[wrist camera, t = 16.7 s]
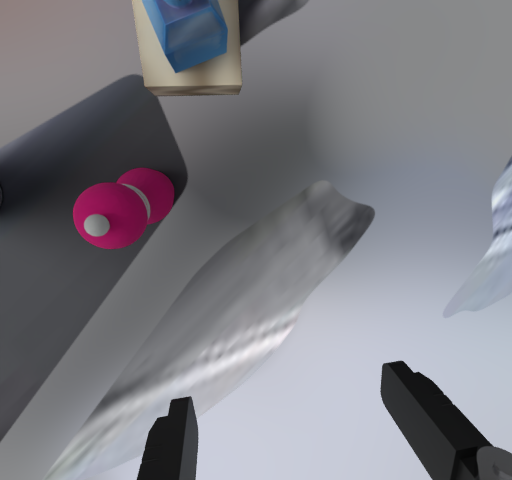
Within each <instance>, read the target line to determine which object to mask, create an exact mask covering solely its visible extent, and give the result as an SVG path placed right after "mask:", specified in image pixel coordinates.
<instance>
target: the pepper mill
mask: <svg viewBox="0 0 512 480" xmlns="http://www.w3.org/2000/svg"><path fill="white" fill-rule="evenodd" d="M173 201H174V187H173V184H172V183H171V181H170V179H169V178H168V177H167V176H166V175H164V174H163V173H161V172H159V171H156V170H152V169H149V168H135V169H132V170H130V171H128V172H126V173H124V174H123V175H122V176H121V177H120V178H119V179H118V180H117V182H116V183H113V182H108V183H99V184H96V185H94V186H91V187H89V188H88V189H86V190H85V191H84V192H83V193H82V194H81V195H80V196H79V197H78V199H77V200H76V202H75V205H74V209H73V219H74V223H75V226H76V228H77V230H78V232H79V233H80V235H81V236H82V237H83V238H84V239H85V240H86V241H88V242H90V243H91V244H93V245H95V246H97V247H101V248H105V249H117V248H123V247H126V246H128V245H131V244H132V243H134V242H135V241H136V240H138V239H139V238H140V236H141V235H142V234H143V232H144V231H145V228H146V226H147V224H152V223H155V222H158V221H160V220H161V219H163V218H164V217H165V216H166V215H167V214H168V213H169V212H170V210H171V208H172V206H173Z"/></svg>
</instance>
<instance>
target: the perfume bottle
mask: <svg viewBox="0 0 512 480" xmlns="http://www.w3.org/2000/svg"><path fill="white" fill-rule="evenodd" d="M142 2H143V5H144V7H145V9H146V12H147V14H148V17H149V19H150V21H151V24H152V26H153V28H154V31H155V33H156V35H157V38H158V40H159V42H160V45H161V47H162V49H163V52H164V54H165V56H166V58H167V59H168V61H169V63H170V65H171V66H172V68H173V70H174V71H175V73H178V72H180V71H183V70H185V69H188V68H190V67H192V66H195V65H197V64H200V63H202V62H205V61H207V60H209V59H212V58H214V57H217V56H219V55H222V54H224V53H226V52H227V36H228V28H227V25H226V22H225V20H224V17H223V14H222V11H221V8H220V5H219V2H218V0H142Z"/></svg>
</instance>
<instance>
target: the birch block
mask: <svg viewBox="0 0 512 480" xmlns="http://www.w3.org/2000/svg"><path fill="white" fill-rule="evenodd" d="M218 2H219V5H220V8H221V11H222V14H223V17H224V20H225V22H226V25H227V28H228V36H227V52H226V53H224V54H222V55H219V56H217V57H214V58H212V59H209V60H207V61H205V62H202V63H200V64H197V65H195V66H192V67H190V68H188V69H185V70H183V71H180V72H178V73H175V71H174V70H173V68H172V66H171V65H170V63H169V61H168V59H167V58H166V56H165V54H164V52H163V49H162V47H161V45H160V42H159V40H158V38H157V35H156V33H155V31H154V28H153V26H152V24H151V21H150V19H149V17H148V14H147V12H146V9H145V7H144V5H143V2H142V0H132V4H133V11H134V18H135V24H136V30H137V38H138V44H139V51H140V58H141V64H142V71H143V78H144V84H145V87H146V88H147V89H148V90H149V91H150V92H152V93H153V94H154V95H155V96H202V95H239V92H240V90H241V87H242V72H241V52H240V32H239V12H238V0H218Z"/></svg>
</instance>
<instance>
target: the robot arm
mask: <svg viewBox="0 0 512 480" xmlns="http://www.w3.org/2000/svg"><path fill="white" fill-rule="evenodd" d="M1 203H2V190H1V187H0V206H1ZM381 397H382V400H383V403H384V405H385V407H386V409H387V410H388V412H389V413H390V415H391V416H392V418H393V420H394V421H395V423H396V424H397V426H398V427H399V429H400V430H401V432H402V433H403V435H404V436H405V438H406V439H407V441H408V443H409V444H410V446H411V447H412V449H413V450H414V452H415V454H416V455H417V456H418V458H419V460H420V461H421V463H422V464H423V466H424V467H425V469H426V471H427V472H428V474H429V475H430V477H431V478H432V479H433V480H512V454H511V453H510V452H508V451H506V450H503V449H500V448H497V447H494V446H493V445H492V444H490V442H489V441H487V439H486V438H485V437H484V436H483V435H482V434H481V433H480V432H479V431H478V430H477V428H476V427H475V426H474V425H473V424H472V423H471V422H470V421H469V420H468V419H467V418H466V417H465V416H464V414H463V413H462V412H461V411H460V410H459V409H458V408H457V407H456V406H455V405H453V404H452V402H451V400H450V399H449V398H448V397H447V396H446V395H444V394H443V392H442V391H441V390H440V389H439V387H438V386H437V385H436V384H435V383H434V382H433V381H432V380H430V379H429V378H427V377H425V376H424V375H423V374H421V373H420V372H416V373H414V372H413V371H412V370H411V369H410V368H409V367H408V366H407V364H405V363H404V362H403V361H396V362H391V363H384V364H383V366H382V379H381ZM197 452H198V425H197V420H196V415H195V410H194V406H193V401H192V397H191V396H190V397H184V398H178V399H173V400H171V403H170V408H169V413H168V416H165V417H159V418H157V420H156V421H155V423H154V425H153V426H152V428H151V429H150V431H149V433H148V437H147V441H146V445H145V451H144V453H143V457H142V464H141V465H140V469H139V473H138V477H137V480H195V477H196V464H197Z"/></svg>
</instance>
